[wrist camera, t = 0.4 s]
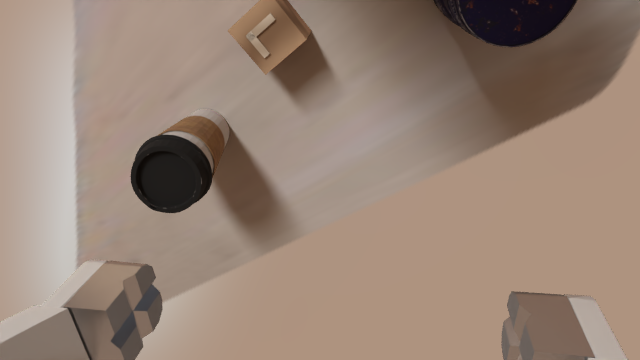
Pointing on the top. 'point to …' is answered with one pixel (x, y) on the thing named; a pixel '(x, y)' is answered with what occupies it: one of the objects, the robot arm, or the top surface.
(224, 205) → the top surface
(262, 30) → the lettered cube
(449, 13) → the storage jar
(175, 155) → the coffee cup
